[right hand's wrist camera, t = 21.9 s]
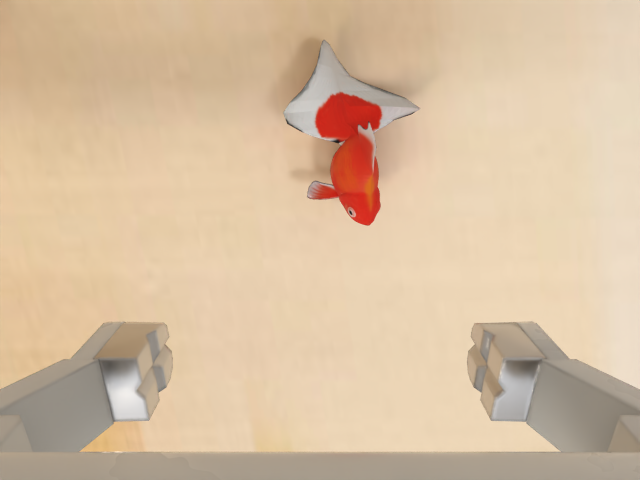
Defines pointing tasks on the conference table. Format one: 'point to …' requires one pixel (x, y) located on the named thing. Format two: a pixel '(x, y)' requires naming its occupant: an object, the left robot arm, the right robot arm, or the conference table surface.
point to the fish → (346, 131)
